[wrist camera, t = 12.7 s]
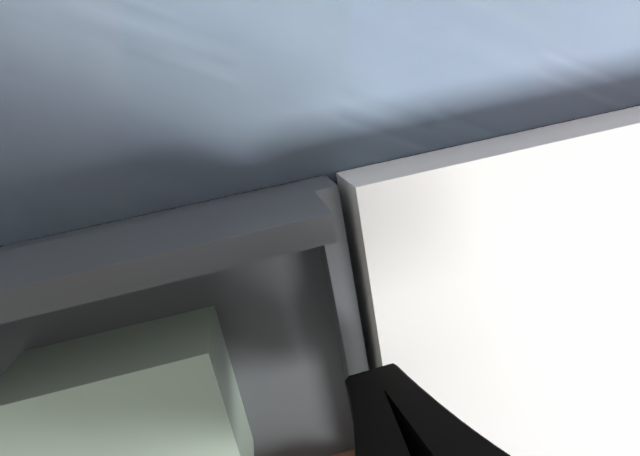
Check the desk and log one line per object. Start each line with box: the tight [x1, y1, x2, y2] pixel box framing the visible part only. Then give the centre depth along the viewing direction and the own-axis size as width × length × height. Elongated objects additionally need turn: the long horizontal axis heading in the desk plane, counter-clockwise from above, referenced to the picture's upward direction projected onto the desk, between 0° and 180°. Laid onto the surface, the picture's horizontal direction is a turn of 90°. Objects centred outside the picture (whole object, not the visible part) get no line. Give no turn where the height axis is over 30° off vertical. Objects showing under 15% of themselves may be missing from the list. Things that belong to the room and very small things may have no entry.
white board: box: [336, 106, 640, 456], centre depth 14 cm, size 18×16×2 cm
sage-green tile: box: [0, 306, 254, 456], centre depth 10 cm, size 5×5×2 cm
